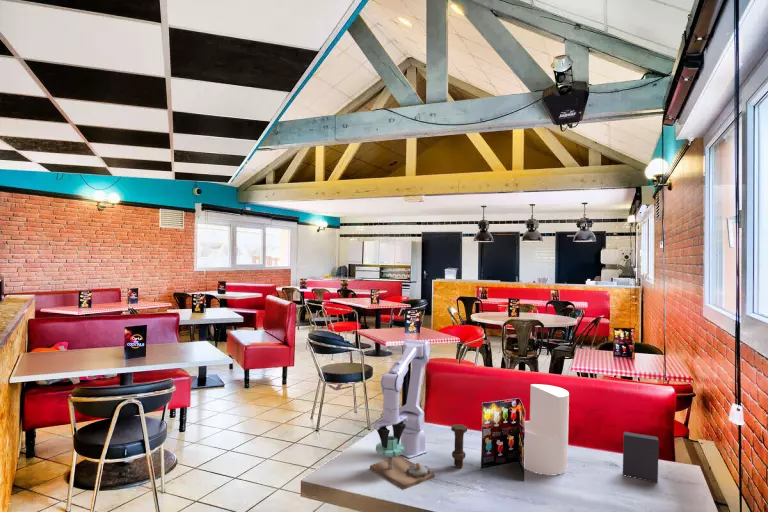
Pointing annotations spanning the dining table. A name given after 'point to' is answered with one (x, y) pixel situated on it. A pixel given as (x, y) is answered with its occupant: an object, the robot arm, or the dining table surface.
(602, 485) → the dining table surface
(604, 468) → the dining table surface
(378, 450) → the teal gear
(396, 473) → the gear board
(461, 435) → the bolt
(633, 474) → the calculator
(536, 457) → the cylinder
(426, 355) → the robot arm
